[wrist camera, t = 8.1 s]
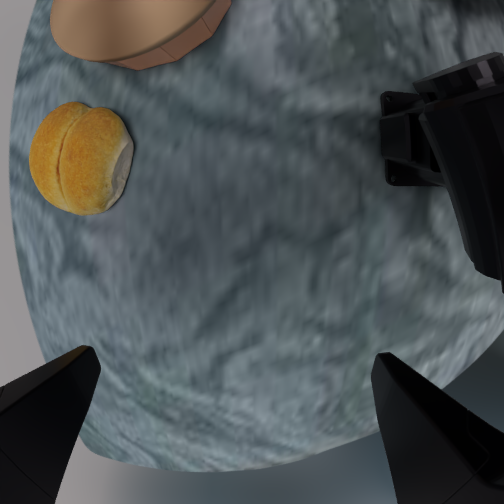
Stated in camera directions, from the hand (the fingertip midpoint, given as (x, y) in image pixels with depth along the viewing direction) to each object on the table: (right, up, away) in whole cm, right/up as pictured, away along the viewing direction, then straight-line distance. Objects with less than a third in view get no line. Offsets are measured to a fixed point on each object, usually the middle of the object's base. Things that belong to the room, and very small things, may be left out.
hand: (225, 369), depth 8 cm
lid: (-6, +20, +3) cm, 21 cm away
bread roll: (-12, +11, +11) cm, 19 cm away
